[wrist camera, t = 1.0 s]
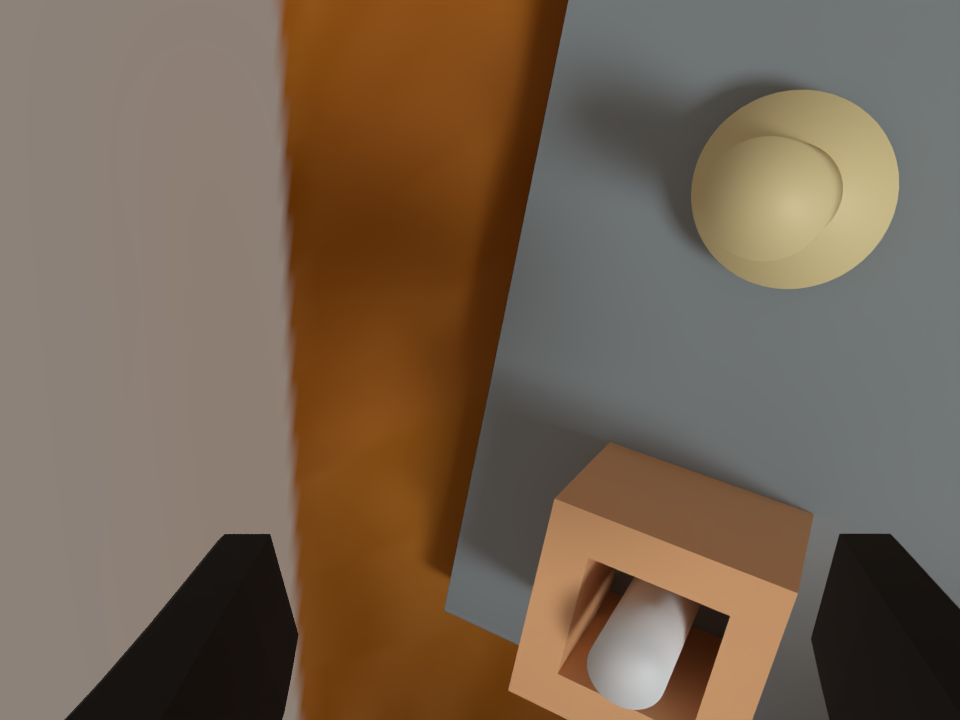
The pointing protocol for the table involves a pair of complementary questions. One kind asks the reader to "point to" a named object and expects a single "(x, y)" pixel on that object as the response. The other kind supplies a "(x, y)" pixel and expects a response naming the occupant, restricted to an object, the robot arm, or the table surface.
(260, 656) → the robot arm
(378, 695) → the table surface
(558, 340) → the board
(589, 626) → the collar
